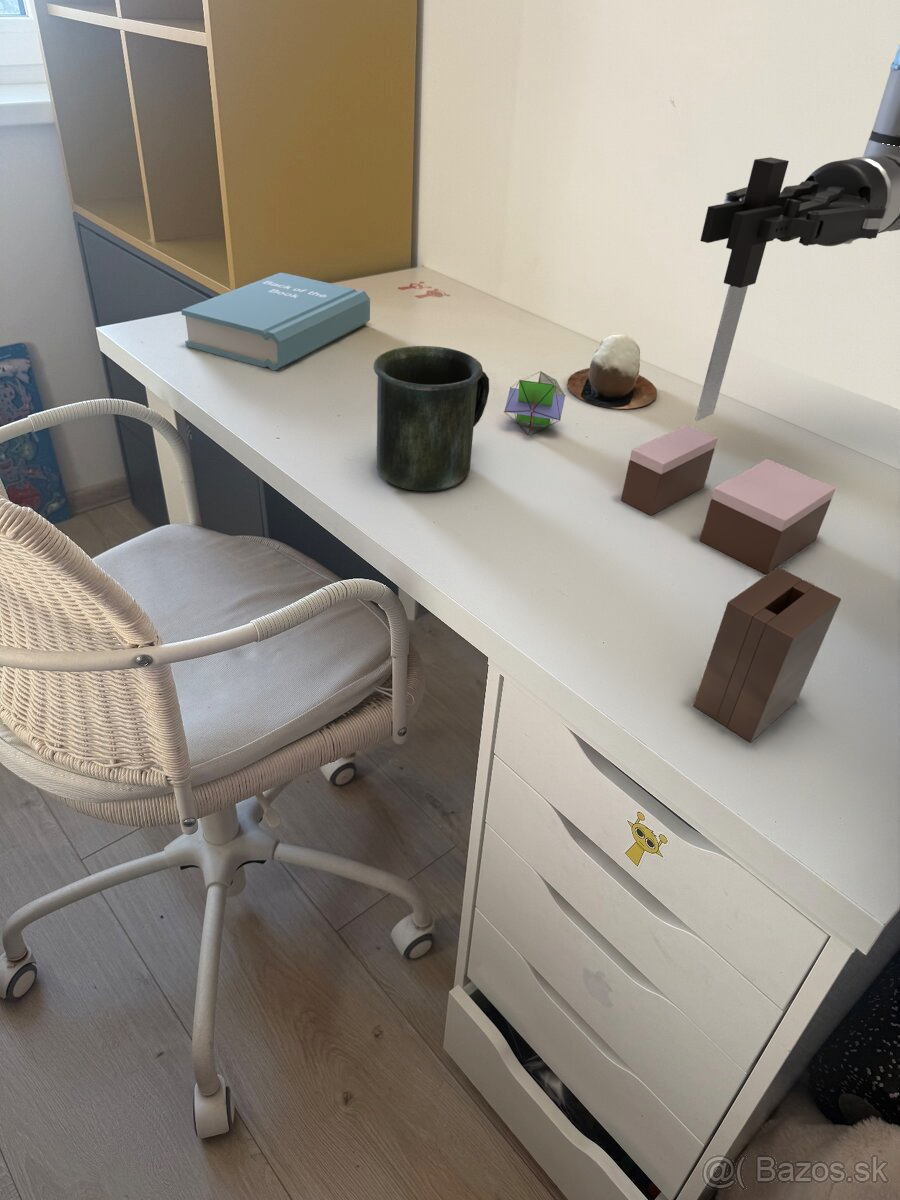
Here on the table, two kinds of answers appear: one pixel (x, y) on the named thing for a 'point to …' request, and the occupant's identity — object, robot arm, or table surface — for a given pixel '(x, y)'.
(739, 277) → the knife
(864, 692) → the table surface
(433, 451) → the mug
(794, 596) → the knife block
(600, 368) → the hat
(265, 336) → the book
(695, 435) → the cake slice
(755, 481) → the cake
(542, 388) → the geometric puzzle
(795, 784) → the table surface
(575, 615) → the table surface
